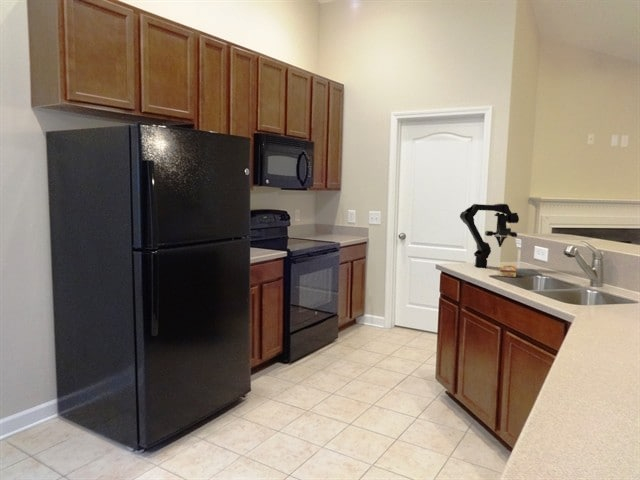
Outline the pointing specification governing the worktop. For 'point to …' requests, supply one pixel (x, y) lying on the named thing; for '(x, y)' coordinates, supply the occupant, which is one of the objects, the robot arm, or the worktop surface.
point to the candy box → (508, 271)
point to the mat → (527, 272)
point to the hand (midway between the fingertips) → (499, 246)
